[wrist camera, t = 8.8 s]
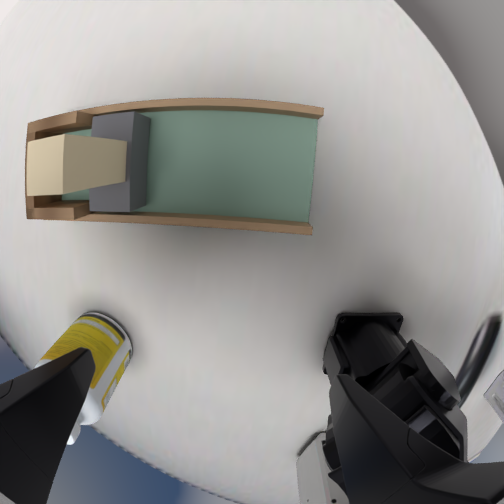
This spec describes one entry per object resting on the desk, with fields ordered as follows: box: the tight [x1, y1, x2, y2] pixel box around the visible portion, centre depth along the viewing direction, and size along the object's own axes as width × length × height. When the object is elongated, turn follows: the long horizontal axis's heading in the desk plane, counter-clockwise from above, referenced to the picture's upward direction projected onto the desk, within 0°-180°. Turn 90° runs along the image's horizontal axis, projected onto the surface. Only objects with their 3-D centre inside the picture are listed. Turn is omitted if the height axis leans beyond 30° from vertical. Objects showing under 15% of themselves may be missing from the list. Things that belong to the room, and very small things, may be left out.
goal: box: [25, 111, 98, 220], centre depth 15 cm, size 5×7×4 cm
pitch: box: [43, 98, 324, 235], centre depth 17 cm, size 20×8×2 cm, turn 86°
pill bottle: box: [34, 313, 132, 445], centre depth 17 cm, size 6×6×12 cm
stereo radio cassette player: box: [296, 432, 349, 504], centre depth 18 cm, size 21×8×20 cm, turn 80°
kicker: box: [27, 111, 151, 212], centre depth 12 cm, size 3×6×9 cm, turn 176°
